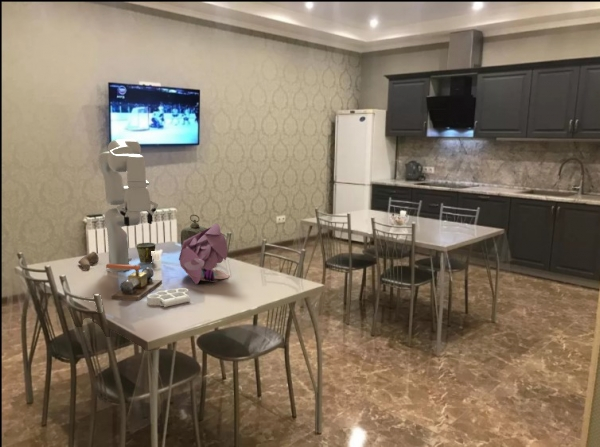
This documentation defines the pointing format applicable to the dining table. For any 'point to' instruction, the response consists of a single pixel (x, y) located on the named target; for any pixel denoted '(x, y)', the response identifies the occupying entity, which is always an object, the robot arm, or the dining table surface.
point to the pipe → (88, 260)
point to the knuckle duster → (169, 297)
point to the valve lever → (123, 266)
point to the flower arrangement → (204, 255)
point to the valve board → (138, 291)
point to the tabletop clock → (191, 230)
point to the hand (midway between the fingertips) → (138, 224)
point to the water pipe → (136, 281)
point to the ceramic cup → (145, 252)
